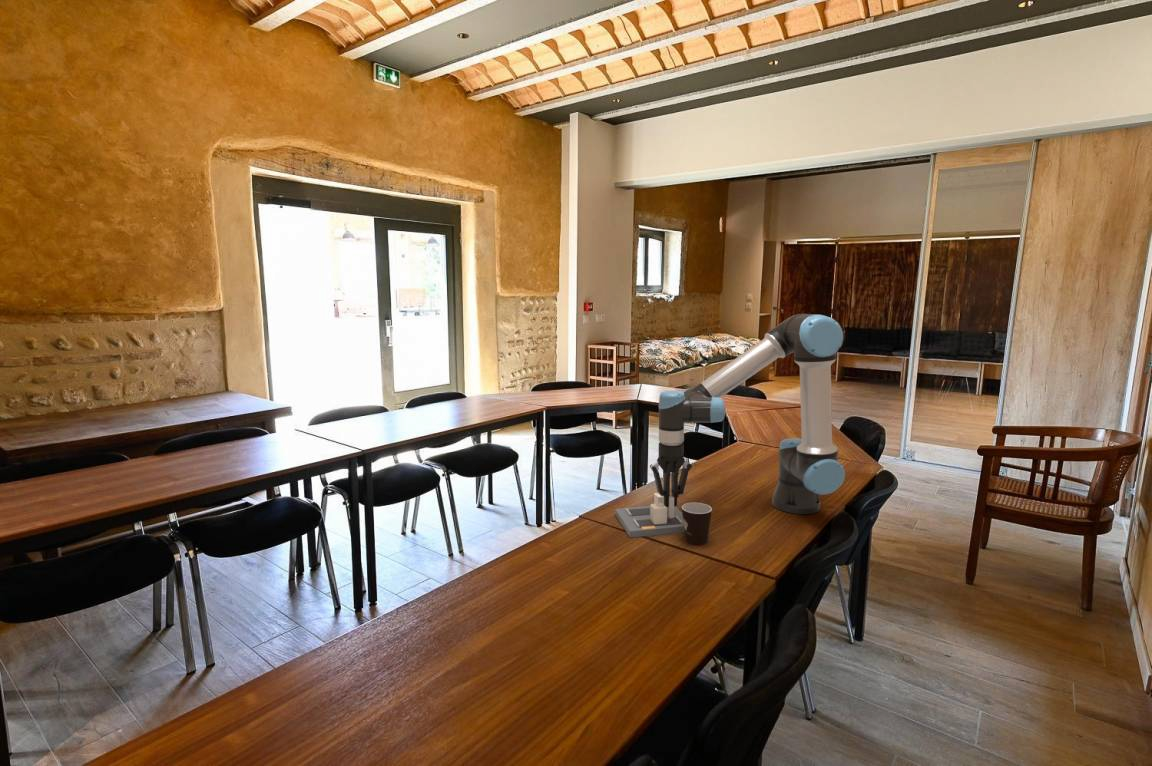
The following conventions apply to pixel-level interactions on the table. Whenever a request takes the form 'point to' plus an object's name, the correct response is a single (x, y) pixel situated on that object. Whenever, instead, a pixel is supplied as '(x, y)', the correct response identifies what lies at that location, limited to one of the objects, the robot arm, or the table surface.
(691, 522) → the coffee mug
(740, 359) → the robot arm
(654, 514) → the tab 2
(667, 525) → the switch board
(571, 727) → the table surface
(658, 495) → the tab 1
